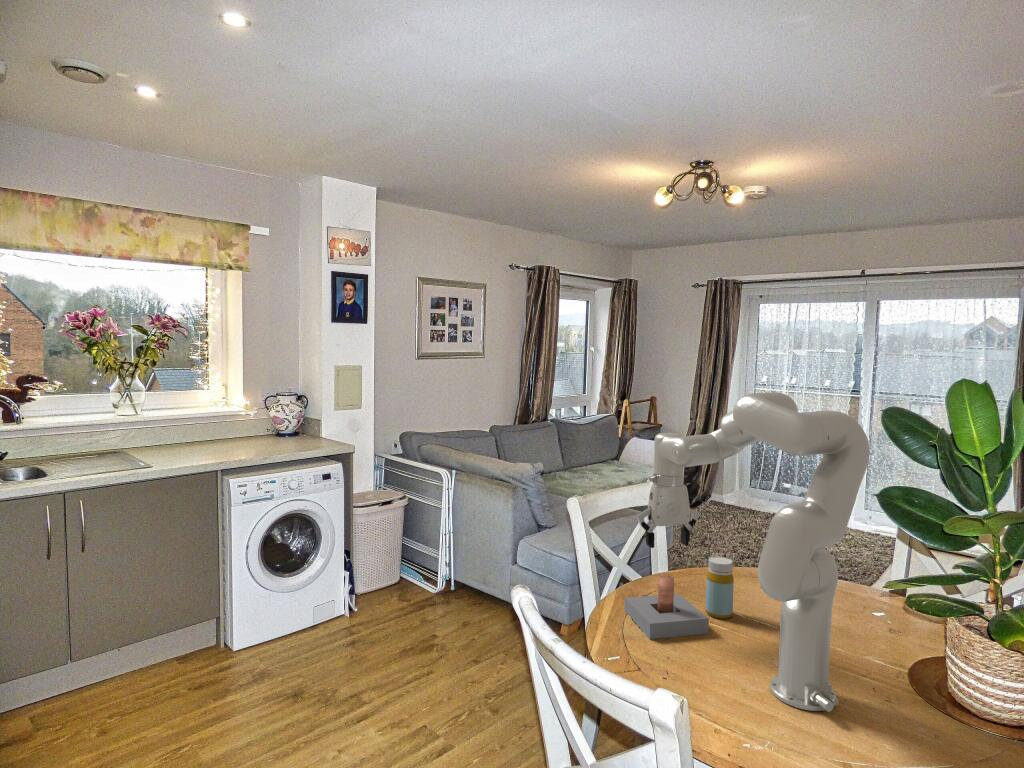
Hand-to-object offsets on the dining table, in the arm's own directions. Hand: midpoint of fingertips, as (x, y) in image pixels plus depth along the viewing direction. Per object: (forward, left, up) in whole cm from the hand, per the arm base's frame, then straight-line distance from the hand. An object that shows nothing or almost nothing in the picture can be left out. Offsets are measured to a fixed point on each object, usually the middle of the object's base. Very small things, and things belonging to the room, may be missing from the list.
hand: (667, 545), depth 161 cm
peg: (0, 0, -21) cm, 21 cm away
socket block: (0, 0, -21) cm, 21 cm away
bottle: (+2, -17, -21) cm, 27 cm away
